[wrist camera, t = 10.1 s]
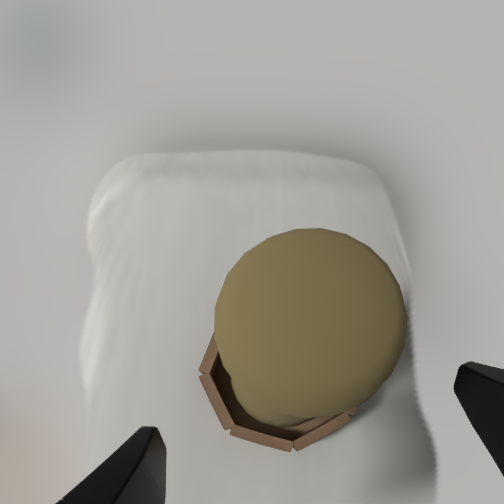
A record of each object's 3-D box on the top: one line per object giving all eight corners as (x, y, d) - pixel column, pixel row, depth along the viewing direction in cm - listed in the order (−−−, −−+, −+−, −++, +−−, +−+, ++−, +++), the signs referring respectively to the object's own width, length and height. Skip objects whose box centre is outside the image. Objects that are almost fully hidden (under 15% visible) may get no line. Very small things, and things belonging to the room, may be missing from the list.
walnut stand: (380, 397, 15) (393, 393, 14) (248, 470, 13) (247, 476, 12) (309, 284, 20) (314, 269, 18) (185, 341, 18) (177, 332, 16)
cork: (302, 308, 18) (344, 168, 8) (356, 390, 15) (479, 329, 6) (212, 355, 16) (149, 250, 7) (262, 446, 13) (269, 491, 4)
